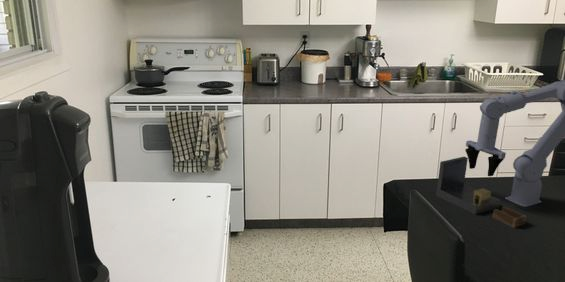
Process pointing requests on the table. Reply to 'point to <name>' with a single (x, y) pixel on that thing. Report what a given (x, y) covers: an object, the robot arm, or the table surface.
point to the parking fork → (509, 217)
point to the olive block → (482, 195)
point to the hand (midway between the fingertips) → (481, 171)
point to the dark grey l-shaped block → (460, 187)
